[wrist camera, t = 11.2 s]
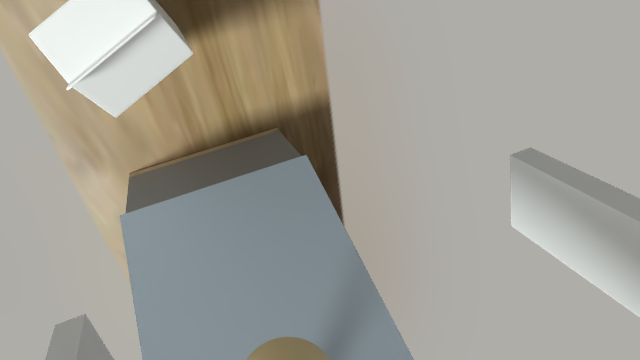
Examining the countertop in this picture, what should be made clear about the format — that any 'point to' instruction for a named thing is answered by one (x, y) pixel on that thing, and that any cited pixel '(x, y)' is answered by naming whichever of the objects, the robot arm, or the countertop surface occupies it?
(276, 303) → the flap
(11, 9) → the countertop surface
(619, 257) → the robot arm
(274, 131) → the carton
